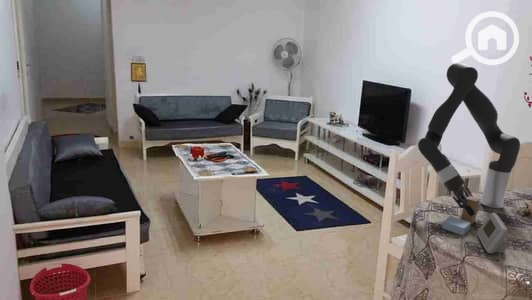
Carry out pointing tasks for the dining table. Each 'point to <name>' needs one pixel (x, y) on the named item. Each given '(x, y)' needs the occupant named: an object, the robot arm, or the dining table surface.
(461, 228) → the pedestal
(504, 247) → the digital clock
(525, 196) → the dining table surface
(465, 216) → the walnut pillar
